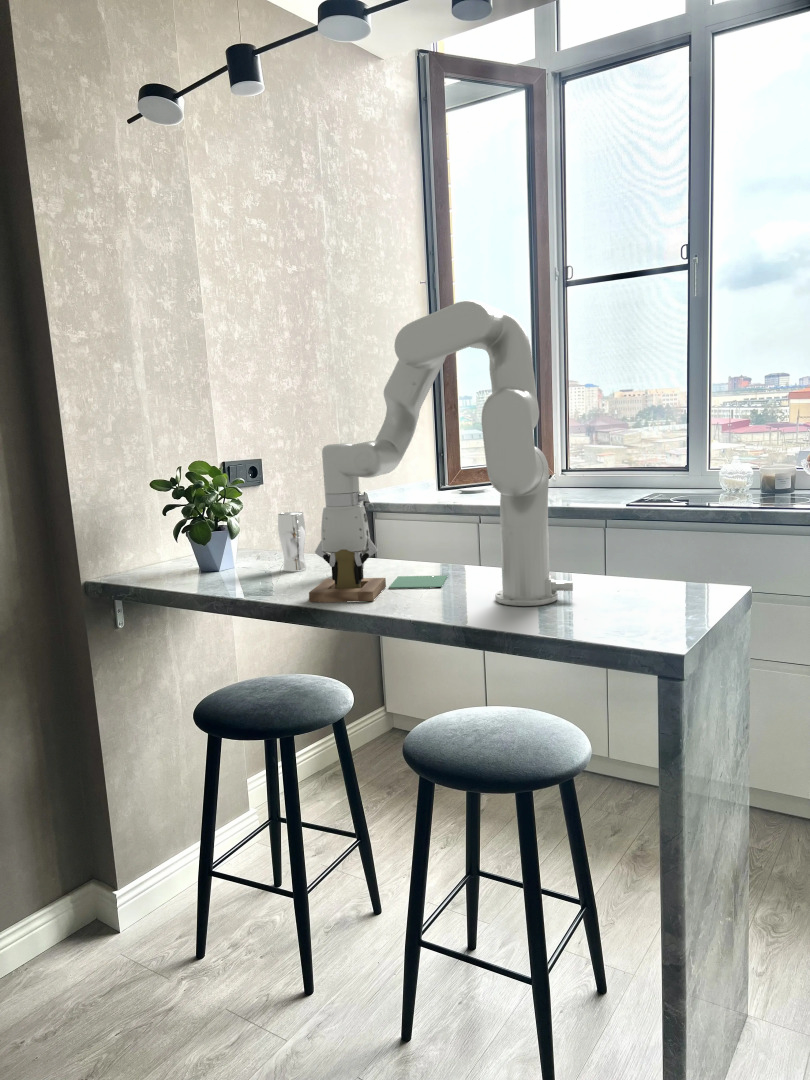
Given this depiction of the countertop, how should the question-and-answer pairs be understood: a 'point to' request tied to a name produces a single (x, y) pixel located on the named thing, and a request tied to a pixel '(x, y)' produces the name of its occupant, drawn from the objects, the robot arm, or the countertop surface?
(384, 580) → the socket
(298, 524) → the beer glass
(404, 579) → the mat
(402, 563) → the countertop surface
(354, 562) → the cork
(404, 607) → the countertop surface
